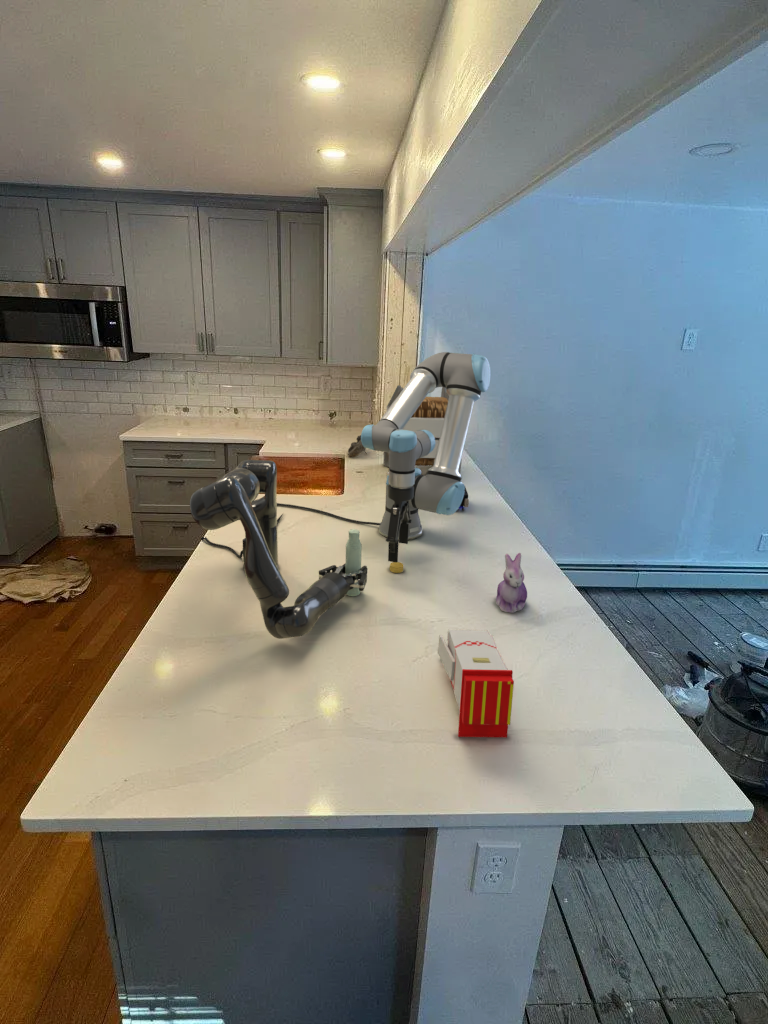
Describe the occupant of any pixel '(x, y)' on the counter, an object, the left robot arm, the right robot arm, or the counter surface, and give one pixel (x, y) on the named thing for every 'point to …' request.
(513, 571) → the figurine
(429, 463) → the transformer
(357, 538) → the bottle
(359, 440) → the fossil
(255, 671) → the counter surface
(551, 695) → the counter surface
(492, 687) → the toy
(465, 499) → the figurine character
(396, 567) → the cap
